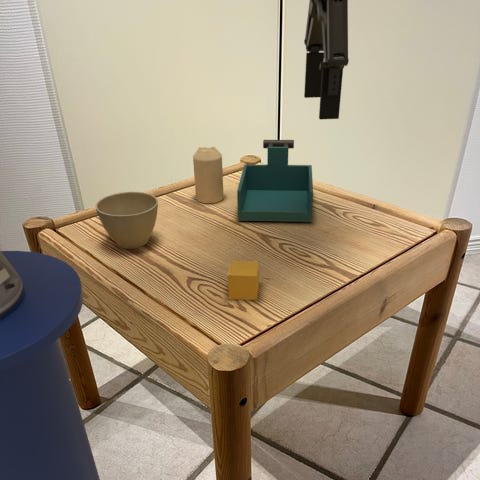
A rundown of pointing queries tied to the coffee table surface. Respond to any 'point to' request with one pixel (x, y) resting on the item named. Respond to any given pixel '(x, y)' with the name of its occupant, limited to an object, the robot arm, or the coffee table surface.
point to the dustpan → (276, 188)
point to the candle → (208, 175)
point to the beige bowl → (128, 217)
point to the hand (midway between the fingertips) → (320, 107)
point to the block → (243, 280)
